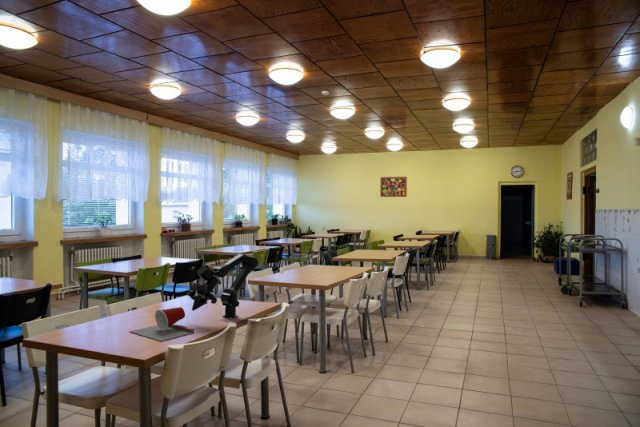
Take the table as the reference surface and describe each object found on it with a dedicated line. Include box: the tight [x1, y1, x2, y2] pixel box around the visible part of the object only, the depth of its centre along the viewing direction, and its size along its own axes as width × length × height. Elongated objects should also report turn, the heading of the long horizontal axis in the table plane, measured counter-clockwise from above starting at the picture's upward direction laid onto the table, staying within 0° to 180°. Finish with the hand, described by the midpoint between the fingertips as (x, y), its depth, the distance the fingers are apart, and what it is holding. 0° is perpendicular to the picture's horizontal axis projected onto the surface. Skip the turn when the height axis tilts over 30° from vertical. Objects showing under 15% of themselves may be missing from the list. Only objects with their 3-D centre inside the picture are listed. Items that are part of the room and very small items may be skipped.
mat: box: [128, 324, 193, 343], centre depth 215 cm, size 17×26×1 cm, turn 54°
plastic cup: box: [154, 306, 186, 331], centre depth 221 cm, size 11×11×12 cm
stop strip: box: [170, 323, 195, 334], centre depth 223 cm, size 2×24×2 cm, turn 54°
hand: (192, 310), depth 230 cm, fingers closed
